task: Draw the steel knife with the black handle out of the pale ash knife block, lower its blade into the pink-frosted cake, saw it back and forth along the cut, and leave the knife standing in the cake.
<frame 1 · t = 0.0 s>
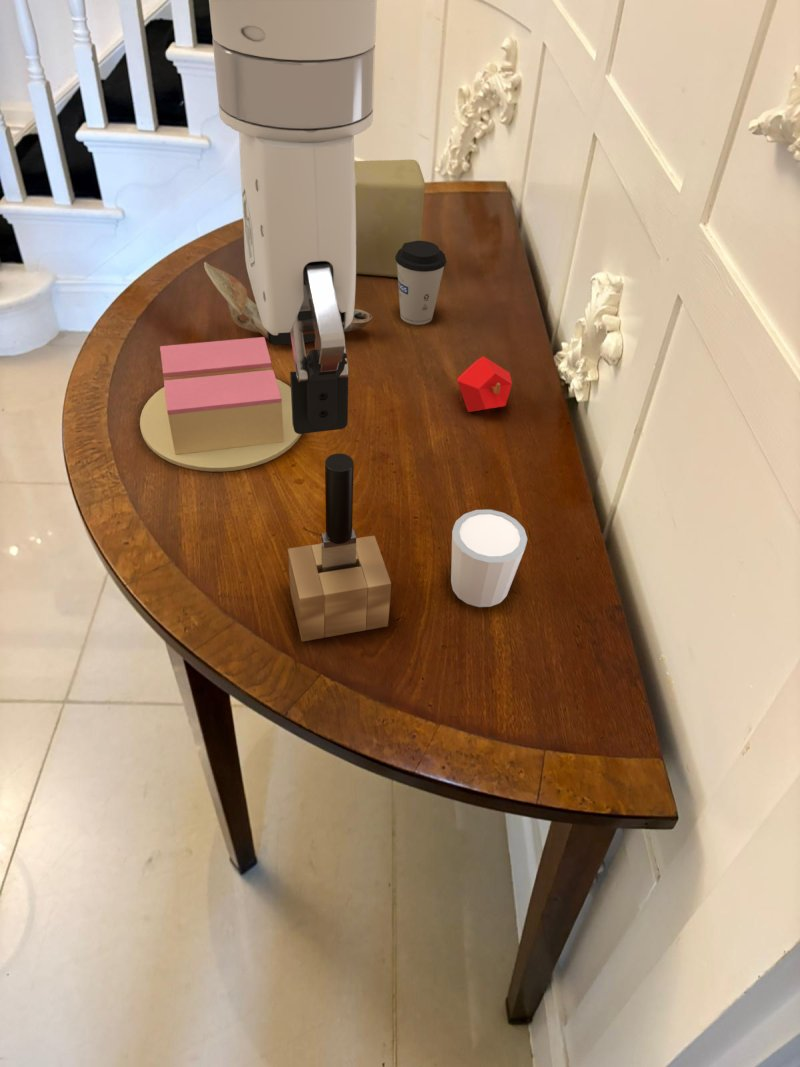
hand: (305, 382, 50), 28 cm above the table, tool pointing down, fingers open, 9 cm apart
knife: (338, 542, 67), in the knife block
cheese: (343, 268, 121), on the table
cake: (224, 419, 92), on the table
coffee cup: (416, 317, 112), on the table
knife block: (338, 609, 73), on the table
white cylinder: (479, 586, 76), on the table
oil lamp: (292, 336, 106), on the table
apple: (480, 406, 97), on the table
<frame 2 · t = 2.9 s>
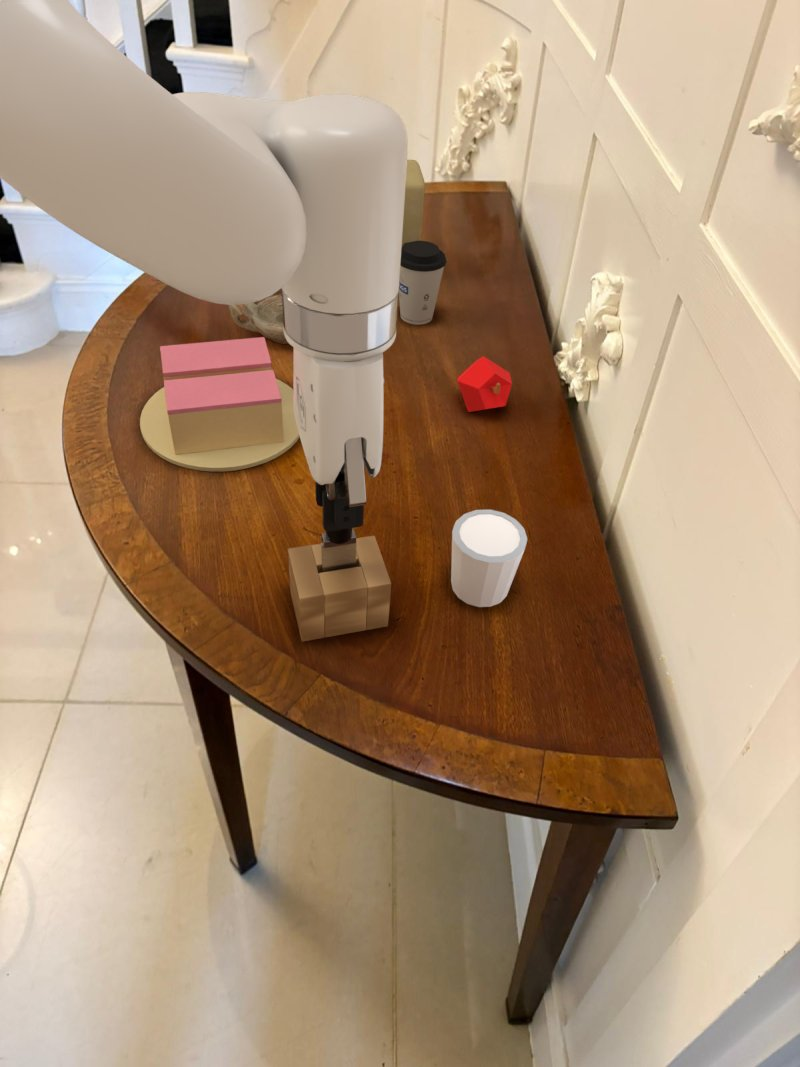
hand: (339, 513, 64), 12 cm above the table, tool pointing down, fingers closed on knife, 2 cm apart
knife: (338, 542, 67), in the knife block, touching gripper
everything else where it was.
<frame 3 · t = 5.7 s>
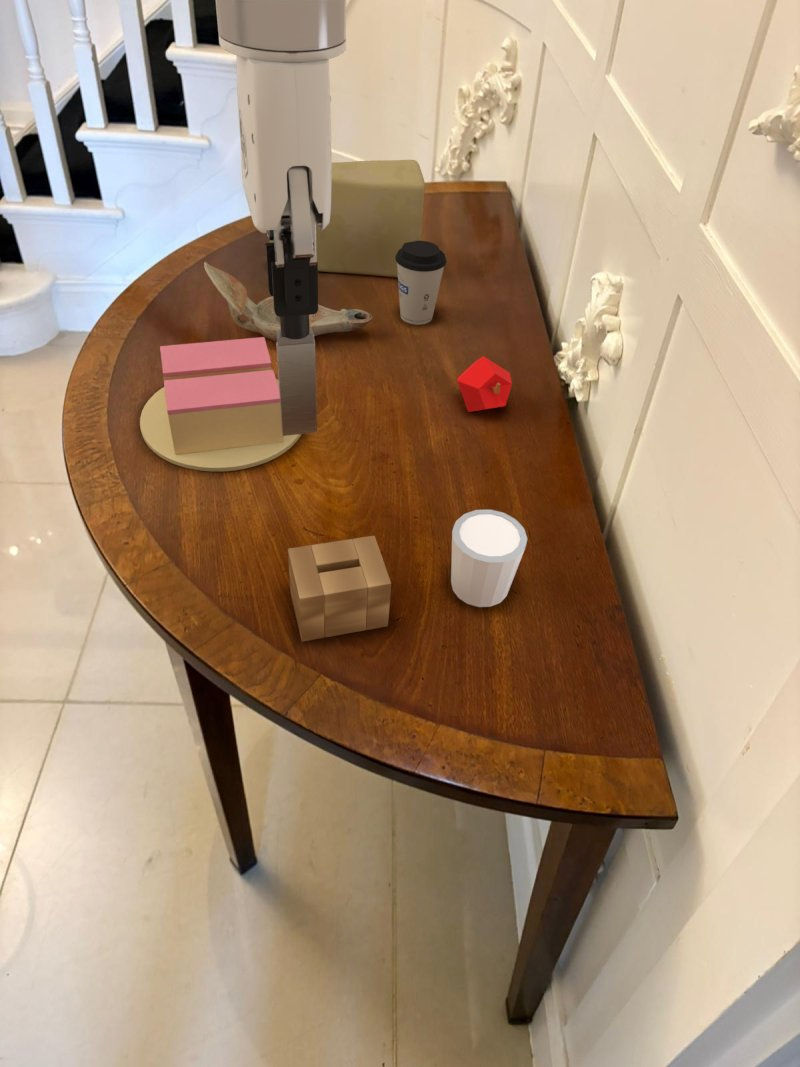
hand: (293, 301, 59), 27 cm above the table, tool pointing down, fingers closed on knife
knife: (295, 342, 61), point 24 cm above the table, touching gripper
everything else where it was.
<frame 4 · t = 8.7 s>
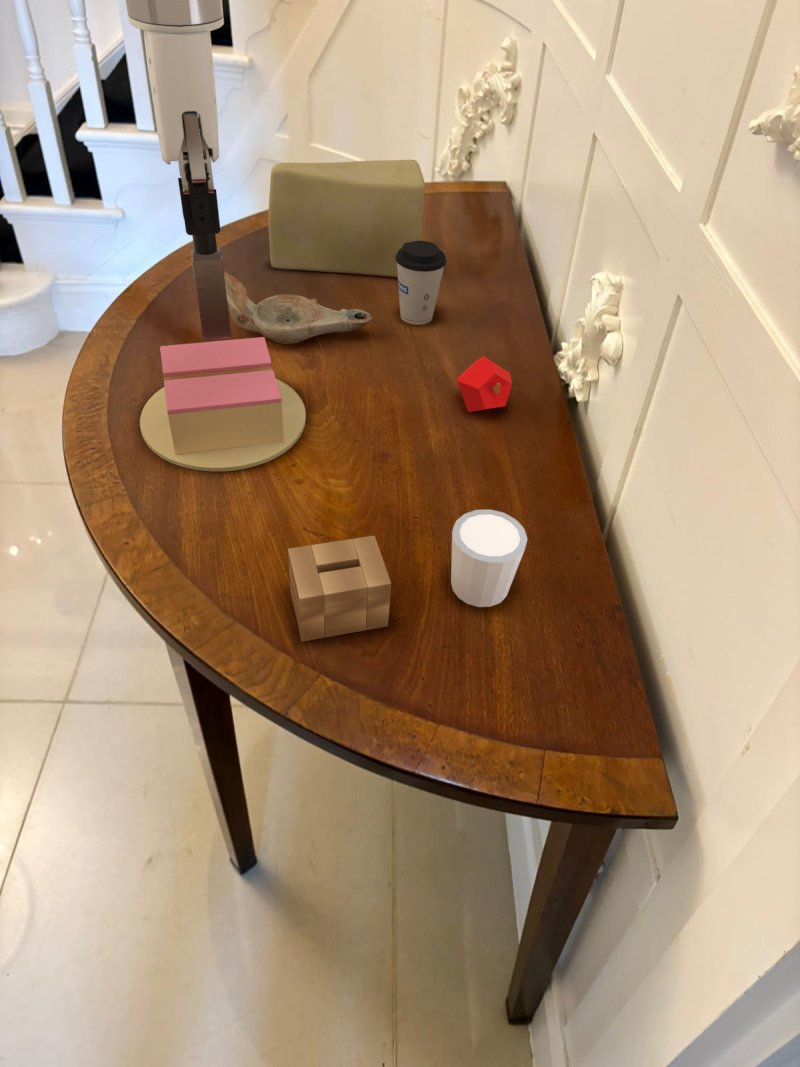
hand: (201, 224, 76), 23 cm above the table, tool pointing down, fingers closed on knife
knife: (207, 258, 78), point 20 cm above the table, touching gripper
everything else where it was.
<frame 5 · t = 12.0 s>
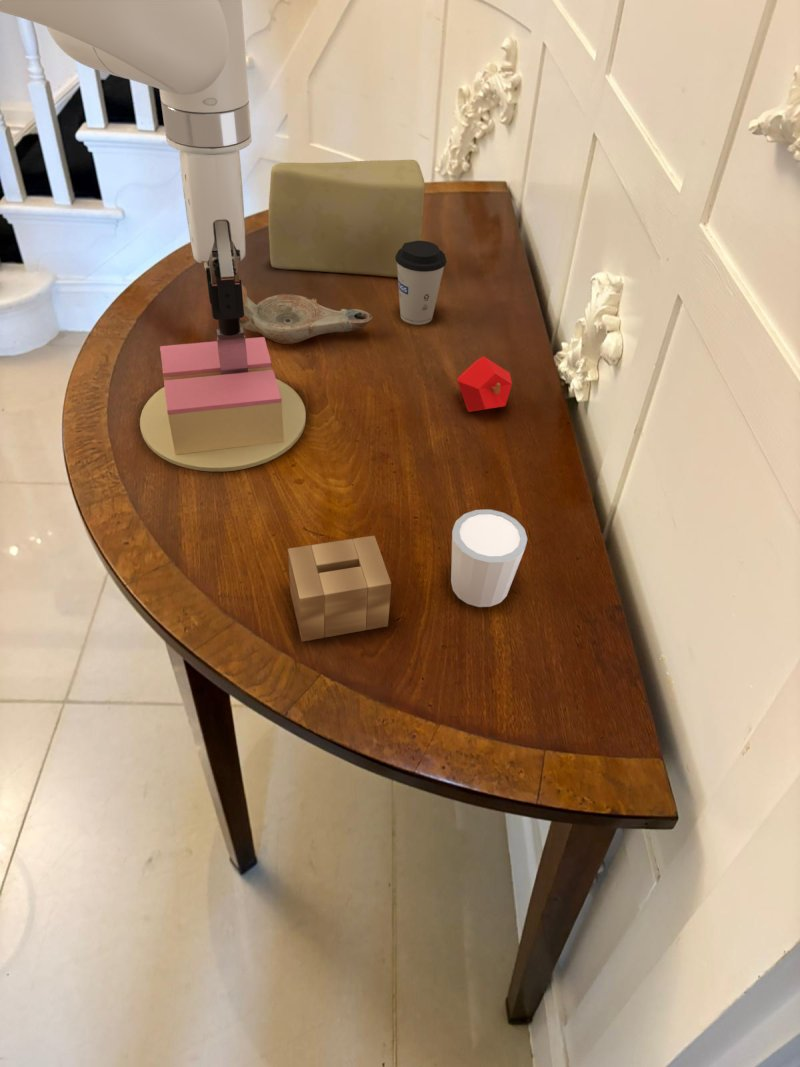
hand: (226, 309, 83), 14 cm above the table, tool pointing down, fingers closed on knife, 2 cm apart
knife: (230, 338, 85), point 11 cm above the table, touching gripper
everything else where it was.
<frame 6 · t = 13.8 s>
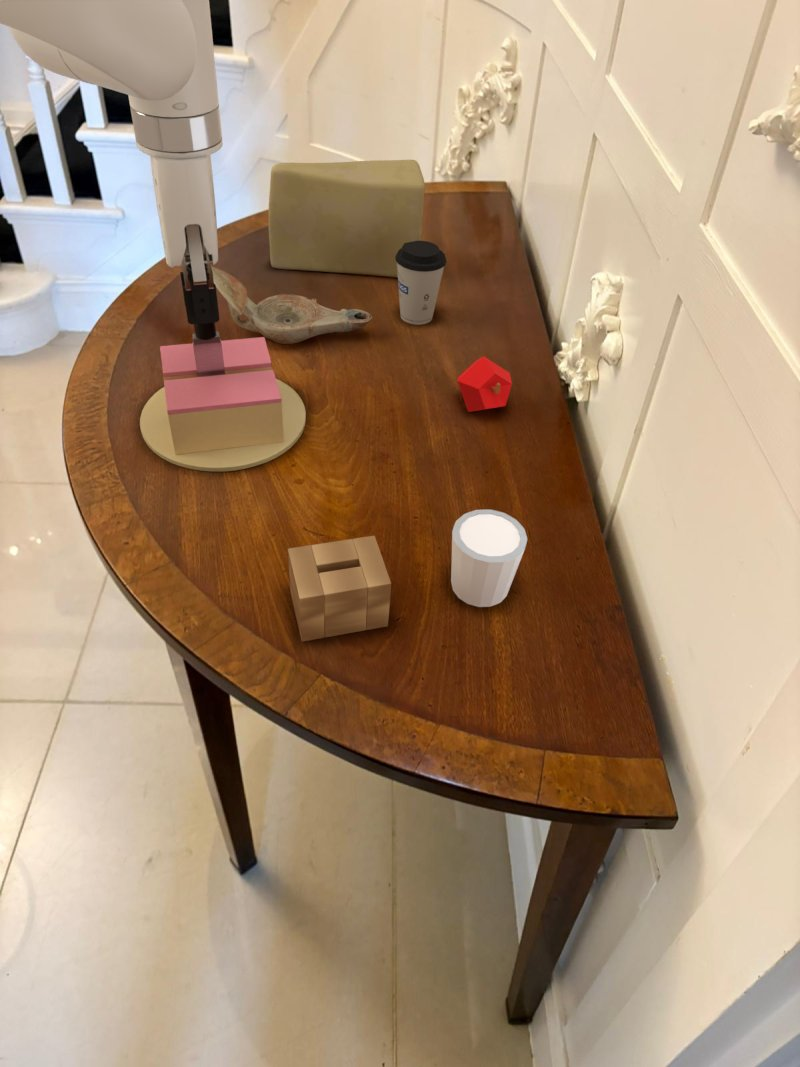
hand: (202, 313, 82), 14 cm above the table, tool pointing down, fingers closed on knife, 2 cm apart
knife: (206, 342, 85), point 10 cm above the table, touching gripper
everything else where it was.
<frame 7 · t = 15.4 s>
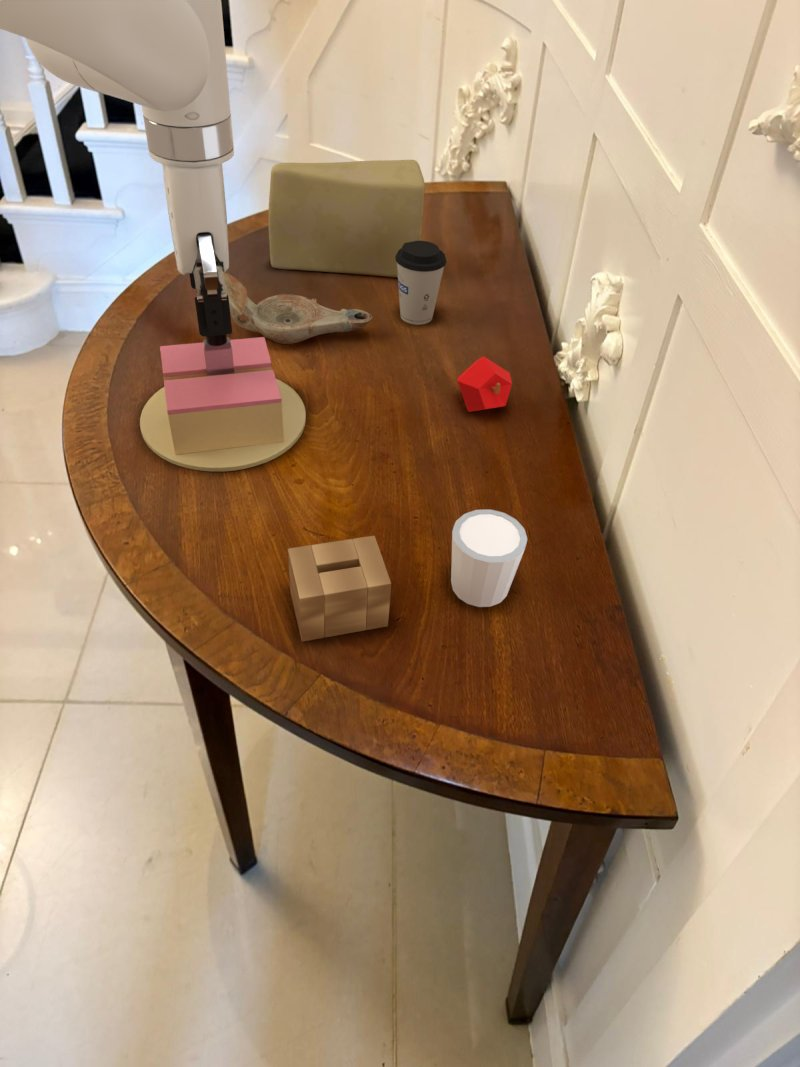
hand: (211, 309, 82), 14 cm above the table, tool pointing down, fingers open, 9 cm apart
knife: (217, 348, 86), point 10 cm above the table, touching cake
everything else where it was.
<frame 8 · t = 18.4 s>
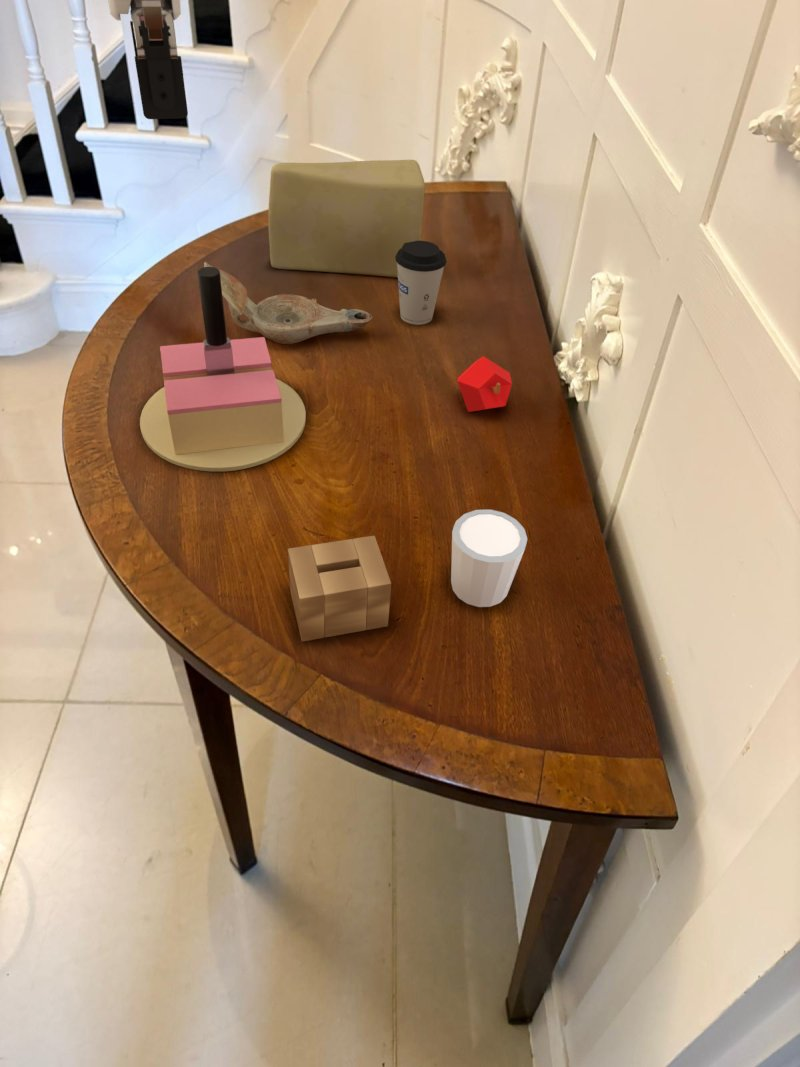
hand: (162, 96, 62), 36 cm above the table, tool pointing down, fingers open, 9 cm apart
nothing on the table moved.
at the end: knife inside the target area on the cake (0.2 cm from its centre), point 9.5 cm above the cake's base; knife tilted 0°; the gripper is holding nothing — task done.
